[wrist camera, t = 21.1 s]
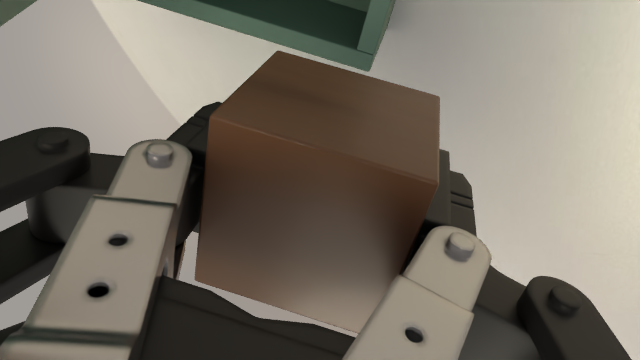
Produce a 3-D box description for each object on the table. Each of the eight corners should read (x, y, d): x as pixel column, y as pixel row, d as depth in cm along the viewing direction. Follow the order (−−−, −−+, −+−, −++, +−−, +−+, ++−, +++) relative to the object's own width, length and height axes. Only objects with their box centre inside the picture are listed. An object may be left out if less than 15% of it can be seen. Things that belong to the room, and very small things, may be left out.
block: (391, 227, 15) (373, 340, 11) (254, 185, 15) (193, 281, 11) (440, 95, 12) (440, 183, 9) (277, 49, 12) (208, 114, 9)
